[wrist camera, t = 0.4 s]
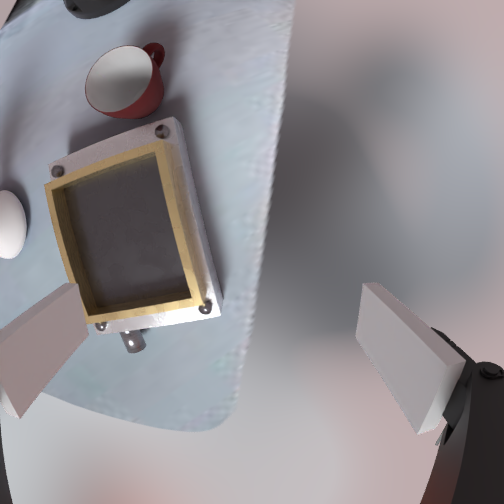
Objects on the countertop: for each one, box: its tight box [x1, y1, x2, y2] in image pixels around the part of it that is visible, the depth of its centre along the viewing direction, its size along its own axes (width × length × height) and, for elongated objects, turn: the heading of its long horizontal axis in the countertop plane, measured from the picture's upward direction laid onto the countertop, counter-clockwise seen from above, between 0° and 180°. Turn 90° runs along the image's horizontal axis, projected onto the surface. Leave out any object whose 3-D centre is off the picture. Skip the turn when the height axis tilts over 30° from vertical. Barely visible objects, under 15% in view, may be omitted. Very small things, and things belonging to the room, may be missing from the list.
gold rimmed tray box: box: [44, 116, 223, 353], centre depth 34 cm, size 28×18×8 cm, turn 12°
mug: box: [85, 43, 165, 119], centre depth 28 cm, size 10×8×10 cm
